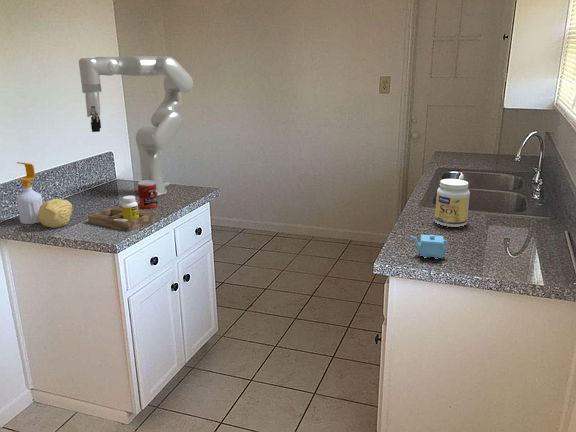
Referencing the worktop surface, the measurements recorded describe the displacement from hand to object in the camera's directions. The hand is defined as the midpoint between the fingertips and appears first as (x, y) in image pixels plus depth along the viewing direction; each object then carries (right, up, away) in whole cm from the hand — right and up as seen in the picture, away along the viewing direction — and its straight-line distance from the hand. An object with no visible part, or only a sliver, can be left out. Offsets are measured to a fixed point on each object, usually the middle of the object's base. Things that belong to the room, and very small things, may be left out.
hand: (96, 130), depth 225 cm
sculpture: (-10, -40, -15) cm, 45 cm away
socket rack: (+15, -39, -12) cm, 43 cm away
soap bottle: (-22, -39, -10) cm, 46 cm away
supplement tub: (+145, -40, -18) cm, 151 cm away
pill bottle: (+19, -40, -15) cm, 47 cm away
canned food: (+20, -33, +7) cm, 39 cm away
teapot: (+128, -50, -49) cm, 146 cm away
